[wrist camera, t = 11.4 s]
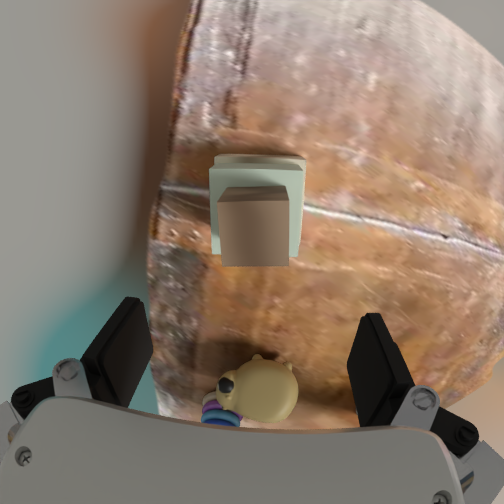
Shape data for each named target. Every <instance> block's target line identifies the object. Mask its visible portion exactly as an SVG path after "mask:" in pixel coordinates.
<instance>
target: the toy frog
mask: <svg viewBox="0 0 504 504" xmlns="http://www.w3.org/2000/svg"><path fill="white" fill-rule="evenodd" d="M216 398H217V401H218V402H219V404H220V405H221V407H222V409H223V410H225V411H228V412H231V411H234V412H236V413H238V414H240V415H241V416H244V417H246V418H248V419H251V420H255V421H259V422H264V423H276V422H280V421H282V420H284V419H285V418H286V417H287V416H288V415H289V414H290V413H291V412H292V410H293V409H294V407H295V404H296V402H297V398H298V384H297V380H296V378H295V376H294V375H293V373H292V365H291V363H290V362H284V363H283V364H281V363H279V362H276V361H273V360H267V359H263V358H262V356H261V355H259V354H255V355H254V356H253V357H252V360H251V361H248V362H246V363H245V364H243V365H242V366H241V367H239V368H238V369H237V370H231V371H228V372H226V373H224V374H223V375H222V376H221V377H220V378H219V380H218V383H217V387H216Z"/></svg>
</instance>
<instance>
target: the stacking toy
mask: <svg viewBox="0 0 504 504" xmlns="http://www.w3.org/2000/svg"><path fill="white" fill-rule="evenodd" d="M202 404H203V409H202V413H203V415H202V417H201V422H202V423H208V424H215V425H224V426H234V427H239V426H240V421H241V420H242V418H243V416H241V415H240V414H238V413H236V412H234V411H231V412H228V411H225V410H223V409H222V407H221V405H220V404H219V402H218V401H217V398H216V391H214V392H210V393H208V394H207V395H205V396H204V398H203V400H202Z"/></svg>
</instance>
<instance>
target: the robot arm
mask: <svg viewBox="0 0 504 504" xmlns="http://www.w3.org/2000/svg"><path fill="white" fill-rule="evenodd" d="M152 354H153V345H152V341H151V336H150V332H149V327H148V323H147V318H146V313H145V309H144V304H143V302H140V299H139V298H135V297H125V299H124V300H123V301H122V302H121V304H120V305H119V306H118V308H117V309H116V310H115V312H114V313H113V314H112V316H111V317H110V318H109V320H108V321H107V322H106V324H105V325H104V326H103V328H102V329H101V330H100V332H99V333H98V335H97V336H96V337H95V339H94V340H93V342H92V343H91V344H90V346H89V347H88V349H87V350H86V351H85V353H84V354H83V356H82V358H81V359H80V361H79V360H77V359H75V358H67V359H64V360H61V361H60V362H58V363H57V364H56V365H55V366H54V368H53V372H52V375H53V376H52V377H49V378H46V379H43V380H39V381H37V382H33V383H31V384H27V385H24V386H21V387H19V388H18V389H16V390H15V391H14V393H13V395H12V397H11V402H10V403H9V402H8V401H6V402H4V403H2V404H1V405H0V504H491V503H492V501H493V500H494V499H495V497H496V496H497V495H498V493H499V492H500V490H501V488H502V487H503V486H504V459H503V458H502V457H501V456H500V455H499V454H498V453H496V452H495V451H494V450H493V449H492V448H491V447H490V446H489V445H488V444H487V443H486V442H485V441H484V440H483V441H482V442H480V441H479V440H478V439H479V434H478V430H477V428H476V427H475V426H474V425H473V424H472V423H470V422H469V421H466V420H465V419H463V418H461V417H459V416H457V415H455V414H453V413H451V412H449V411H447V410H445V409H443V408H441V407H439V404H440V399H439V396H438V394H437V393H436V392H435V391H434V390H433V389H432V388H430V387H428V386H425V385H417V386H415V384H414V382H413V379H412V377H411V375H410V372H409V370H408V368H407V365H406V363H405V361H404V359H403V356H402V354H401V352H400V350H399V348H398V346H397V344H396V343H395V342H393V339H392V337H391V335H390V333H389V331H388V329H387V327H386V325H385V323H384V321H383V319H382V317H381V315H380V313H366V315H365V316H362V317H361V320H360V323H359V326H358V330H357V333H356V336H355V339H354V342H353V346H352V349H351V352H350V355H349V358H348V361H347V370H348V374H349V379H350V383H351V387H352V391H353V396H354V400H355V405H356V413H357V415H358V419H359V424H360V427H358V428H342V429H316V430H284V429H260V428H245V427H234V426H224V425H215V424H208V423H200V422H194V421H187V420H182V419H176V418H170V417H165V416H160V415H155V414H151V413H146V412H142V411H138V410H134V409H129V408H128V406H129V404H130V401H131V399H132V397H133V395H134V392H135V390H136V388H137V385H138V384H139V381H140V379H141V377H142V375H143V373H144V371H145V369H146V367H147V364H148V362H149V360H150V358H151V356H152Z"/></svg>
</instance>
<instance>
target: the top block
mask: <svg viewBox="0 0 504 504" xmlns="http://www.w3.org/2000/svg"><path fill="white" fill-rule="evenodd" d="M303 172H304V171H303V170H302V168H301V167H300V166H299V165H290V164H263V163H217V164H215V165H214V166H212V167H211V168H210V169H209V189H210V218H211V241H212V254H221V247H220V236H219V224H218V212H217V201H218V200H219V198H220V197H221V195H222V194H223V192H224V191H225V189H226V188H227V187H255V186H286V190H287V193H288V197H289V257H298V247H299V235H300V221H301V207H302V191H303Z"/></svg>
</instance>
